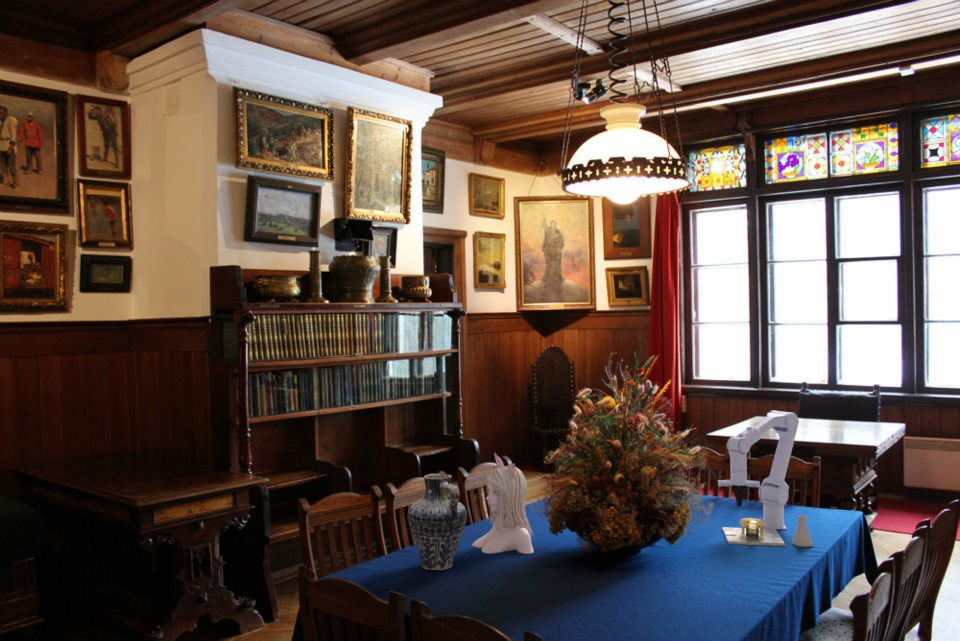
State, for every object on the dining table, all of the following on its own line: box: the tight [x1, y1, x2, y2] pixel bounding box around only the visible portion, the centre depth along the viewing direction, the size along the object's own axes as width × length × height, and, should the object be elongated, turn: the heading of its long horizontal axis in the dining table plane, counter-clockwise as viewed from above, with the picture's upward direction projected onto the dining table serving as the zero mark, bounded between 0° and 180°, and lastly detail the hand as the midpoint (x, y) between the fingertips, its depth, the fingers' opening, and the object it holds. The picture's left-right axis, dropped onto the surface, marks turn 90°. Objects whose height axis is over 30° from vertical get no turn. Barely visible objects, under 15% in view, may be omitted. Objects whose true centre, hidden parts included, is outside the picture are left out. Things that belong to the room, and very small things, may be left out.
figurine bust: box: [471, 452, 534, 555], centre depth 281 cm, size 26×20×32 cm
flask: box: [791, 514, 814, 548], centre depth 275 cm, size 7×7×10 cm
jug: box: [407, 472, 468, 571], centre depth 258 cm, size 21×19×30 cm
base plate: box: [722, 526, 786, 547], centre depth 284 cm, size 18×19×4 cm
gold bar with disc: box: [739, 517, 765, 535], centre depth 281 cm, size 15×8×5 cm, turn 162°
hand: (739, 506), depth 289 cm, fingers closed
